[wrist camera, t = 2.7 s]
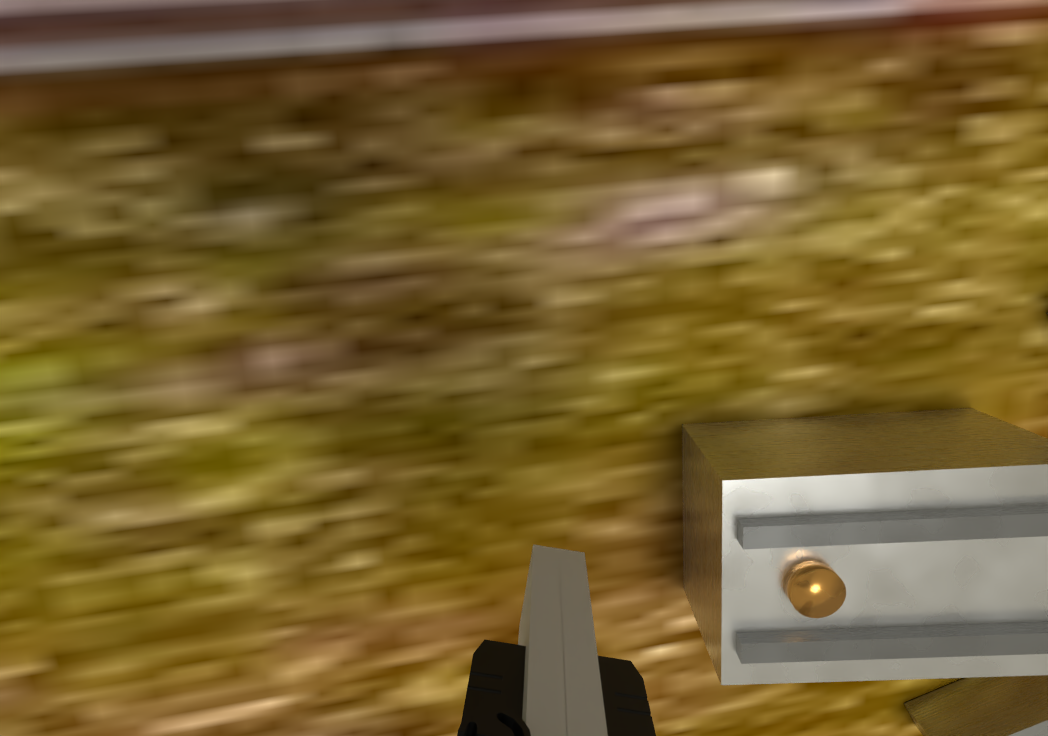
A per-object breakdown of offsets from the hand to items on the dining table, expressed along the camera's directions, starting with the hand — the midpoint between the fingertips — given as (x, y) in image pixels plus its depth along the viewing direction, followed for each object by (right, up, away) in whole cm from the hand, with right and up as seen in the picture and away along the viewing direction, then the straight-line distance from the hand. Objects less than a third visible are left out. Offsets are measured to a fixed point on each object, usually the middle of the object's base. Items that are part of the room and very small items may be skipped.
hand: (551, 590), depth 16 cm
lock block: (+12, +1, +9) cm, 15 cm away
